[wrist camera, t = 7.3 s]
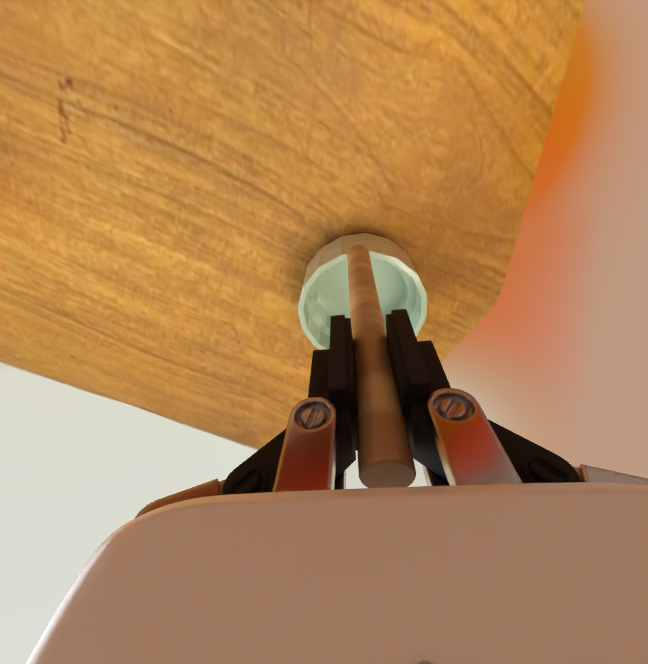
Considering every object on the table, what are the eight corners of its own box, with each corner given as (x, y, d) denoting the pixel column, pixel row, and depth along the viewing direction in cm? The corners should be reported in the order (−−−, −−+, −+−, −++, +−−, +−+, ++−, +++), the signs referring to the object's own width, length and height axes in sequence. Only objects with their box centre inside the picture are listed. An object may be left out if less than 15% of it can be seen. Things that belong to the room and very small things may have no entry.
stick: (368, 242, 20) (417, 459, 7) (369, 264, 20) (415, 491, 8) (346, 245, 20) (356, 462, 8) (347, 266, 21) (361, 493, 8)
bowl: (416, 224, 33) (429, 243, 29) (414, 327, 41) (425, 356, 36) (294, 240, 35) (286, 261, 30) (314, 337, 42) (310, 366, 37)
